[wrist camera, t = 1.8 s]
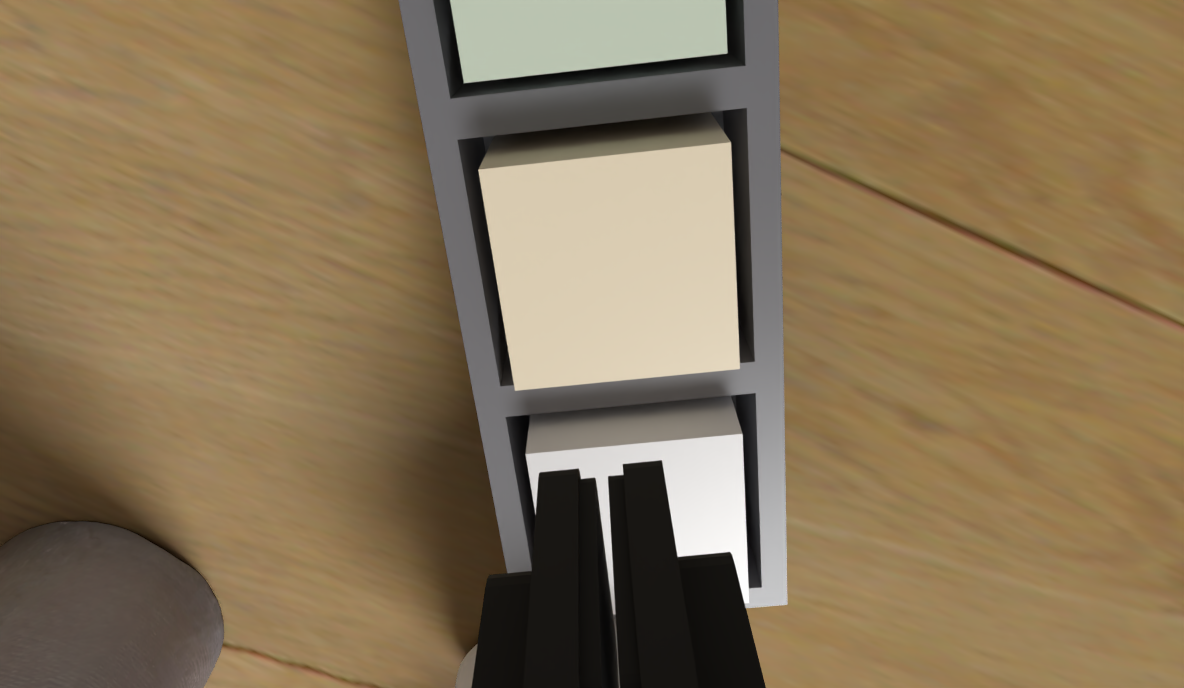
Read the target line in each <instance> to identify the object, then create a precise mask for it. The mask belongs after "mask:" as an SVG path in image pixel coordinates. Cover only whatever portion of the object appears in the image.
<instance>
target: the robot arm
mask: <svg viewBox="0 0 1184 688" xmlns="http://www.w3.org/2000/svg"><path fill="white" fill-rule="evenodd" d="M608 489H609V506H610V524H611V542H612V560H613V578H614V595H615V613H616V631H617V644H616V634H615V625H614V617H613V609H612V601H611V593H610V586H609V578H608V570H607V562H606V554H605V546H604V538H603V531H602V523H601V515H600V507H599V499H598V491H597V484H596V478H585V479H581V476H580V471H579V468H578V469H568V470H558V471H548V472H540V473H539V477H538V489H537V503H536V517H535V531H534V545H533V559H532V571H526V572H515V573H505V574H495V575H489V577H488V579H487V583H486V587H485V595H484V602H483V609H482V616H481V623H480V630H479V637H478V644H477V651H476V659H475V666H474V673H473V680H472V687H471V688H619V683H620V688H766V687H765V683H764V679H763V675H762V671H761V667H760V663H759V659H758V655H757V651H756V647H755V643H754V639H753V635H752V631H751V627H750V623H749V619H748V615H747V611H746V607H745V603H744V599H743V595H742V591H741V587H740V583H739V579H738V575H737V571H736V567H735V563H734V560H733V556H732V554H731V552H723V553H713V554H703V555H692V556H682V557H678V556H677V550H676V544H675V538H674V531H673V525H672V519H671V513H670V507H669V500H668V494H667V488H666V482H665V476H664V469H663V463H662V460H658V461H648V462H638V463H628V464H623V475H615V476H608ZM617 649H618V658H617ZM618 667H619V676H618Z"/></svg>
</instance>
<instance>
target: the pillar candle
mask: <svg viewBox="0 0 1184 688" xmlns="http://www.w3.org/2000/svg"><path fill="white" fill-rule="evenodd" d="M223 639H224V624H223V619H222V615H221V609H220V606H219V604H218V601H217V598H216V597H215V596H214V594H213V592H212V590H211V588H210V586H209V585H208V583H207V582H206V581H205V579H204V578H203V577H202V576H201V575H200V574H199V573H198V572H197V571H195V570H194V569H193V568H192V567H190V566H189V565H187V564H185V563H183V562H182V561H180V560H179V559H177V558H176V557H174V556H173V555H171V554H170V553H168V552H166V551H165V550H163V549H162V548H160V547H158V546H156V545H155V544H153V543H151V542H150V541H148V540H146V539H144V538H143V537H141V536H139V535H137V534H135V533H133V532H131V531H129V530H126V529H123V528H121V527H116V526H113V525H110V524H104V523H99V522H88V521H75V522H69V521H68V522H55V523H48V524H45V525H41V526H38V527H35V528H32V529H29V530H27V531H24V532H22V533H20V534H19V535H17V536H15V537H13V538H12V539H10V540H9V541H7V542H6V543H5V544H4V545H2V546H1V547H0V688H204V686H205V684H206V682H207V680H208V678H209V676H210V674H211V672H212V670H213V668H214V666H215V664H216V661H217V659H218V657H219V655H220V652H221V648H222V644H223Z"/></svg>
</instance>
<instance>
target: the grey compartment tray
mask: <svg viewBox="0 0 1184 688" xmlns="http://www.w3.org/2000/svg"><path fill="white" fill-rule="evenodd" d="M725 3H726V28H727V54H719V55H710V56H701V57H692V58H683V59H674V60H665V61H657V62H648V63H639V64H630V65H621V66H612V67H603V68H595V69H586V70H577V71H568V72H559V73H550V74H541V75H533V76H524V77H515V78H506V79H497V80H488V81H479V82H471V83H464V81H463V75H462V69H461V63H460V57H459V51H458V45H457V39H456V32H455V26H454V20H453V14H452V8H451V2H450V0H399V5H400V10H401V16H402V21H403V26H404V32H405V37H406V42H407V47H408V53H409V58H410V63H411V68H412V74H413V79H414V84H415V90H416V95H417V100H418V105H419V111H420V116H421V121H422V126H423V132H424V137H425V142H426V147H427V153H428V158H429V163H430V169H431V174H432V179H433V184H434V190H435V195H436V200H437V205H438V211H439V216H440V221H441V227H442V232H443V237H444V242H445V248H446V253H447V258H448V263H449V269H450V274H451V279H452V284H453V290H454V295H455V300H456V306H457V311H458V316H459V321H460V327H461V332H462V337H463V342H464V348H465V353H466V358H467V363H468V369H469V374H470V379H471V385H472V390H473V395H474V400H475V406H476V411H477V416H478V421H479V427H480V432H481V437H482V443H483V448H484V453H485V458H486V464H487V469H488V474H489V479H490V485H491V490H492V495H493V500H494V506H495V511H496V516H497V522H498V527H499V532H500V537H501V543H502V548H503V553H504V558H505V564H506V569H507V573H515V572H526V571H532V559H533V545H534V531H535V517H536V514H535V508H534V502H533V496H532V490H531V484H530V478H529V472H528V466H527V460H526V446H527V438H528V430H529V422H530V415H531V414H541V413H552V412H562V411H573V410H583V409H594V408H604V407H615V406H625V405H636V404H646V403H657V402H667V401H678V400H688V399H699V398H709V397H720V396H730V395H731V398H732V401H733V404H734V408H735V411H736V414H737V417H738V421H739V424H740V427H741V430H742V434H743V458H744V484H745V509H746V534H747V559H748V585H749V603H745V607H746V608H753V607H765V606H777V605H787V553H786V488H785V423H784V358H783V293H782V227H781V162H780V97H779V32H778V0H725ZM705 112H711V114H712V115H713V117H714V118H715V120H716V121H717V122H718V124H719V125H720V127H721V128H722V130H723V131H724V133H725V134H726V136H727V137H728V139H729V140H730V142H731V155H732V180H733V205H734V231H735V256H736V281H737V307H738V332H739V357H740V369H735V370H725V371H715V372H704V373H694V374H684V375H673V376H663V377H653V378H642V379H632V380H621V381H611V382H601V383H590V384H580V385H570V386H559V387H549V388H539V389H528V390H518V391H515V388H514V382H513V376H512V370H511V364H510V358H509V352H508V346H507V340H506V334H505V328H504V322H503V315H502V309H501V303H500V297H499V291H498V285H497V279H496V273H495V267H494V261H493V255H492V249H491V243H490V237H489V231H488V225H487V219H486V213H485V207H484V201H483V195H482V189H481V183H480V177H479V171H478V169H479V167H480V165H481V163H482V161H483V159H484V157H485V155H486V153H487V151H488V148H489V146H490V144H491V142H492V140H493V138H494V136H496V135H505V134H514V133H523V132H532V131H541V130H550V129H560V128H569V127H578V126H587V125H596V124H605V123H614V122H623V121H632V120H641V119H650V118H660V117H669V116H678V115H687V114H696V113H705ZM613 617H614V619H616V614H613Z"/></svg>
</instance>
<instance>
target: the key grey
mask: <svg viewBox="0 0 1184 688" xmlns="http://www.w3.org/2000/svg"><path fill="white" fill-rule="evenodd" d="M526 460H527V466H528V472H529V478H530V484H531V490H532V496H533V502H534V508H535V514H536V503H537V489H538V477H539V473H540V472H548V471H558V470H568V469H578V468H579V471H580V476H581V479H585V478H596V484H597V491H598V499H599V507H600V515H601V523H602V531H603V538H604V546H605V554H606V562H607V570H608V578H609V586H610V593H611V601H612V609H613V614H616V613H615V595H614V578H613V560H612V542H611V524H610V506H609V489H608V476H615V475H623V464H628V463H638V462H648V461H658V460H662V463H663V469H664V476H665V482H666V488H667V494H668V500H669V507H670V513H671V519H672V525H673V531H674V538H675V544H676V550H677V556H678V557H682V556H692V555H703V554H713V553H723V552H731V554H732V556H733V560H734V563H735V567H736V571H737V575H738V579H739V583H740V587H741V591H742V595H743V599H744V603H749V585H748V559H747V534H746V509H745V484H744V458H743V434H742V430H741V427H740V424H739V421H738V417H737V414H736V411H735V408H734V404H733V401H732V398H731V395H730V396H720V397H709V398H699V399H688V400H678V401H667V402H657V403H646V404H636V405H625V406H615V407H604V408H594V409H583V410H573V411H562V412H552V413H541V414H531V415H530V422H529V430H528V438H527V446H526Z"/></svg>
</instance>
